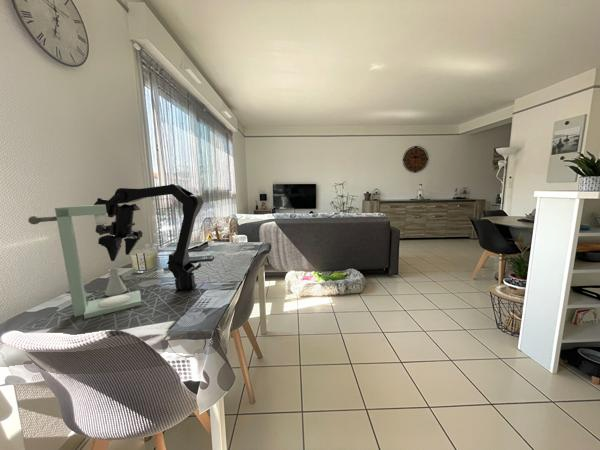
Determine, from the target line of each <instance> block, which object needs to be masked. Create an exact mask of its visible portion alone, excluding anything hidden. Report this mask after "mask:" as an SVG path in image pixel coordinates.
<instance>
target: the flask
mask: <svg viewBox="0 0 600 450" xmlns="http://www.w3.org/2000/svg"><path fill="white" fill-rule="evenodd" d="M107 271H108V273H109V274H108V275H109V278H108V283H107V287H106V290H105V293H104V295H105V296H108V297H112V296H117V295H121V294H125V293H126V292H127V291H128V288H127V287H126V284H124V283H123V281H122V279H121V278H120V275H119V272H118V271H119V268H110V269H108V270H107Z"/></svg>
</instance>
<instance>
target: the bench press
mask: <svg viewBox="0 0 600 450" xmlns="http://www.w3.org/2000/svg"><path fill="white" fill-rule="evenodd" d="M54 211H55V216H43V217H42V216H41V217H38V216H37V215H31V216H29V218H27V220H28V223H29V224H31V225H38V224H39V223H44V222H56V221H57V222H56V223H57V226H58V227H57V228H58V233H59V238H60V244H61V249H62V255H63V259H64V266H65V271H66V278H67V282H68V288H69V293H70V298H71V304H72V308H73V309H72V310H73V314H74V317H75V318H76V317H80V316H84V317H83V318H84V320H85V319H89V318H93V317H97V316H102V315H105V314H109V313H114V312H118V311H122V310H125V309H130V308H133V307H138V306H142V295H141V290H136V291H131V292H130V291H129V292H127V293H126V292H125V293H122V294H119V295H116V296H108V297H103V298H98V299H94V300H89V301H87V297H86V290H85V286H84V280H83V274H82V269H81V263H80V256H79V251H78V247H77V245H78V244H77V241H76V234H75V229H74V223H73V217H78V216H79V217H81V216H93V215H94V220H95V221H94V222H95V225H101V224H104V225H109V224H110V223H109V222H110V221H109V217H108V214H107V211H106V205H94V204H91V205H76V206H73V205H72V206H58V207H54Z"/></svg>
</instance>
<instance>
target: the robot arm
mask: <svg viewBox="0 0 600 450" xmlns="http://www.w3.org/2000/svg"><path fill="white" fill-rule="evenodd" d="M169 195H171V196H173V197H174V198H175V199H176V200H177V201H178V202H180V204H182V206H181V207H182V209H181V210H182V215H183V217H182V223H181V227H180V231H179V236H178V239H177V245H176V249H175V250H174V251H173V252H172V253H169V255H168V261H167V262H166V265H168V266H167V269H168V270H169V271H170V272H171V273H172V275H173V277H174V283H175V284H174V285H175V292H177V293H178V292H191V291H193V290H194V289H195V288H196V287H197V286H198V285H197V283H196V282H195V281H196V280H195V272H194V271H195V268H196V266H195V265H194V264H193V263H191V261H190V253H189V248H190V243H191V238H192V236H193V235H192V234H193V231H194V228H195V227H194V226H195V223H196V218H197V216H198V215H199V213H200V212H201V210H202V208H203V204H204V200H203V198H202V197H201V196H200V195H198V194H194V193H193V192H192V191H189V190H187V189H186V188H184V187H182V185H180V184H179V183H178V184H177V183H169V184H167V185H158V186H152V187H145V188H139V187H138V188H137V187H136V188H135V187H120V188H117V189H116V191H115V192H114V194H113V195H112V196H111V197H110V198H109V199H106V198H103V197H98V198H97V200H96V201H95V203H94V204H93V205H106V211H107V214H108V218H114V217H115V218H114V221H111V223H110V224H100V225H96V224H95V225H96V227H95V233H96V234H99V236H100V237H99V238H98V241H97V244H98V245H100V246H102V247H104V248H105V249H106V250H107V253H108V256H109V259H110V261H111V262H115V260H116V258H117V256H118V254H119V252H120V250H121V247H122V246H123V245H122V243H123V240H124V242H125V243H124V246H125V251H124V253H125V255H127V256H128V255H130V254H131V252H132V251H133V249H135V246H136V245H137V244H138V242H139V241H140V240H141V238H143V231H142V230H139V229H134V228H133V227H134V226H136V223H135V221H134V214H135V213H134V212H136V211H140V210H141V208H140V207H139V206H138V205H137V204H136V203H137V202H139V201H142V200H145V199H147V198H153V197H161V196H169ZM135 202H136V203H135ZM129 203H130V204H129ZM120 204H121V205H120ZM133 221H134V222H133ZM106 234H107V235H106Z"/></svg>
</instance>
